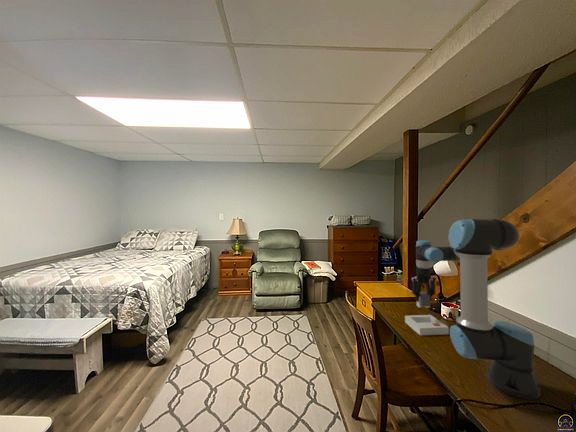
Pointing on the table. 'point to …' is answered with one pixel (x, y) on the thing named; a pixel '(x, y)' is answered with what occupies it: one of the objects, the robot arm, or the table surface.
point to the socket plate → (426, 325)
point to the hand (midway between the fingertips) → (423, 306)
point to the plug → (425, 299)
